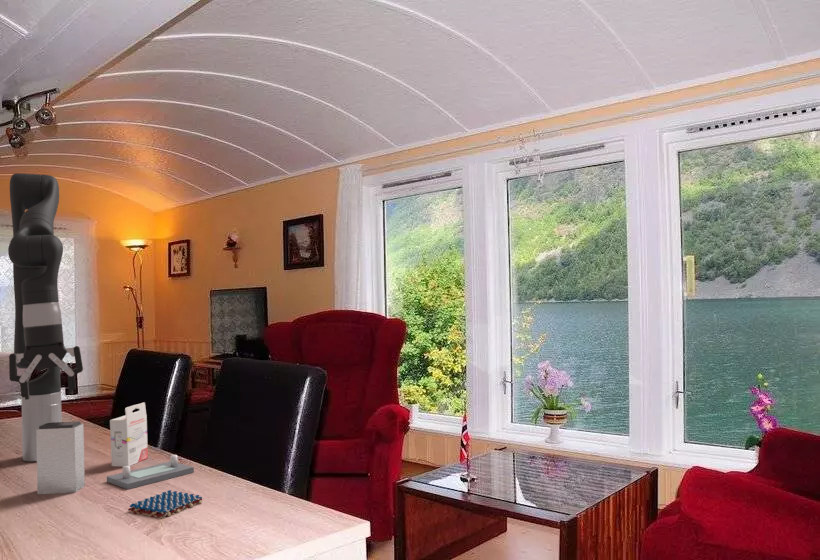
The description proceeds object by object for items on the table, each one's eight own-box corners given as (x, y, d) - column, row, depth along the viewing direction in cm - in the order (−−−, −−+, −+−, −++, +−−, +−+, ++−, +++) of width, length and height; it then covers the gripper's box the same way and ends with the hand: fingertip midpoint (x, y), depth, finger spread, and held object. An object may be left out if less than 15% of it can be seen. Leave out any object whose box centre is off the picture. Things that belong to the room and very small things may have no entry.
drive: (47, 488, 143) (46, 422, 144) (84, 486, 144) (83, 420, 144) (37, 494, 139) (36, 426, 139) (75, 492, 140) (74, 424, 140)
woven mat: (125, 515, 125) (124, 504, 125) (168, 498, 135) (168, 488, 135) (162, 522, 121) (162, 511, 121) (205, 505, 130) (204, 494, 130)
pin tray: (127, 489, 140) (127, 472, 141) (106, 481, 147) (106, 465, 147) (193, 472, 153) (193, 456, 153) (171, 465, 159) (171, 450, 159)
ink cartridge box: (131, 457, 169) (130, 401, 169) (148, 458, 168) (147, 401, 168) (110, 466, 160) (108, 407, 161) (127, 467, 159) (126, 407, 160)
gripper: (78, 320, 151) (85, 389, 150) (7, 327, 144) (14, 399, 144) (78, 320, 144) (84, 392, 144) (3, 327, 138) (10, 403, 137)
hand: (49, 396), depth 144 cm, fingers open, 8 cm apart
